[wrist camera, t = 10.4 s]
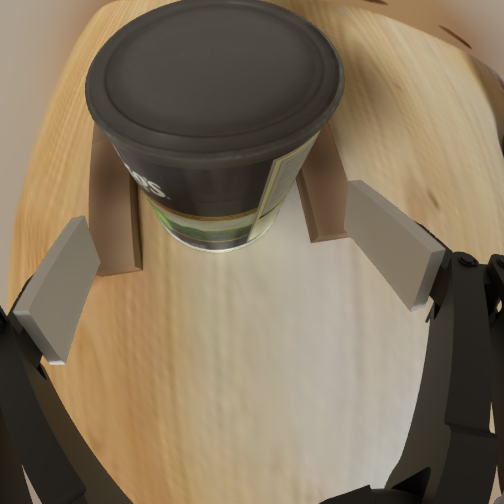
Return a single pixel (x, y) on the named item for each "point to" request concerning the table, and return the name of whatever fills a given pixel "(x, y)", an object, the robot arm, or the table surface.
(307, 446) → the table surface
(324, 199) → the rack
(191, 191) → the coffee can
